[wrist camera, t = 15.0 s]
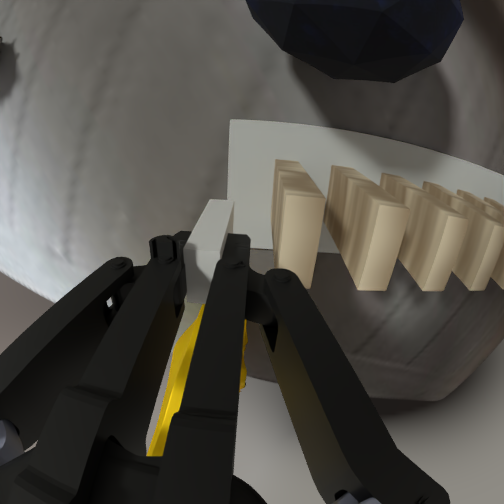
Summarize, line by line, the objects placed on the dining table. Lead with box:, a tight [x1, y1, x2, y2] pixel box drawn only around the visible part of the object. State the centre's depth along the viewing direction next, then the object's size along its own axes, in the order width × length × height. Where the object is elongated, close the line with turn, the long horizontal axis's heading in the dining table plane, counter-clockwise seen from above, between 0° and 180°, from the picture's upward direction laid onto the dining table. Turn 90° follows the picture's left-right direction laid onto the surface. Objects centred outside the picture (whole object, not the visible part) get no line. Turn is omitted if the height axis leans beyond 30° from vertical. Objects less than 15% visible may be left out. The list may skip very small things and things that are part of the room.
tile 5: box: [457, 189, 504, 290], centre depth 19 cm, size 2×5×11 cm, turn 177°
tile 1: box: [271, 159, 326, 289], centre depth 19 cm, size 2×5×11 cm, turn 177°
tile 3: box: [379, 173, 469, 291], centre depth 19 cm, size 2×5×11 cm, turn 177°
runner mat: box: [227, 119, 504, 253], centre depth 24 cm, size 12×35×1 cm, turn 87°
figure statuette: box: [147, 304, 248, 456], centre depth 23 cm, size 18×8×22 cm, turn 163°
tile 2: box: [323, 165, 410, 291], centre depth 19 cm, size 2×5×11 cm, turn 177°
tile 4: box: [422, 181, 504, 291], centre depth 19 cm, size 2×5×11 cm, turn 177°
